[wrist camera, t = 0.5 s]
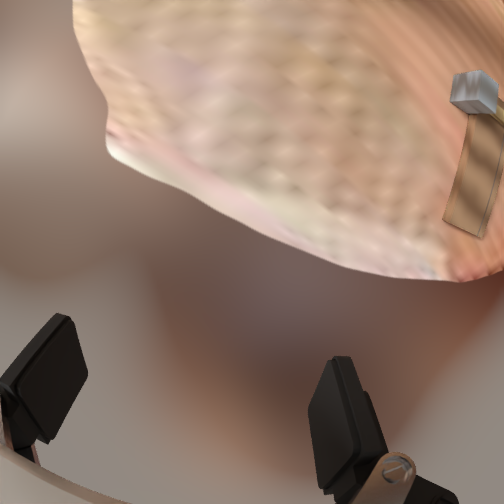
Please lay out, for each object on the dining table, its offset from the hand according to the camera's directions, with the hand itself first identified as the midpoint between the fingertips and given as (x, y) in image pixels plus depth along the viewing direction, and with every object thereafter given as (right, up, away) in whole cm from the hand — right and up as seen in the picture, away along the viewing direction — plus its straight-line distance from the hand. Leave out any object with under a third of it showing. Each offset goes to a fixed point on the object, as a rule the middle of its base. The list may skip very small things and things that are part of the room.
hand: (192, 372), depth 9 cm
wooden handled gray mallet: (+38, +27, +21) cm, 51 cm away
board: (+39, +19, +24) cm, 49 cm away
